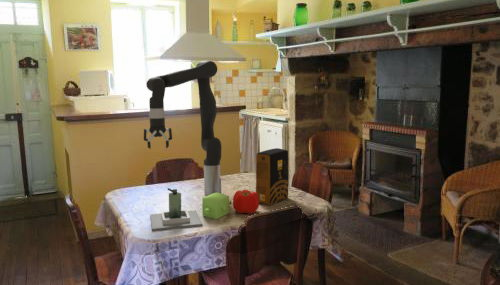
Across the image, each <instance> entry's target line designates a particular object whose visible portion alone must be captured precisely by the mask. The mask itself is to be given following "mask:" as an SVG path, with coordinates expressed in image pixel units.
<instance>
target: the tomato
mask: <svg viewBox="0 0 500 285" xmlns="http://www.w3.org/2000/svg"><path fill="white" fill-rule="evenodd" d="M232 206H233V209H234V210H235V212H238V213H239V214H248V215H249V214H250V215H251V214H254V213H256V211H257V210H258V209H259V207H260V203H259V197H258V194H257V193H256V191H251V190H248V189H242V190H237V191H235V193H234V194H233V197H232Z"/></svg>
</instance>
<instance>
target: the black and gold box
mask: <svg viewBox="0 0 500 285" xmlns="http://www.w3.org/2000/svg"><path fill="white" fill-rule="evenodd" d="M255 155H256V156H255V158H256V159H255V160H256V163H255V166H256V167H255V192H256V193H257V194H258V197H259V204H262V205H268V206H271V205H272V206H273V205H274V204H277V203H279V202H282V201H284V200H286V199H288V198H289V151H288V149H282V148H278V147H277V148H270V149H266V150H263V151H260V152H258V153H256V154H255Z"/></svg>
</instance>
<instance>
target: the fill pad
mask: <svg viewBox="0 0 500 285" xmlns="http://www.w3.org/2000/svg"><path fill="white" fill-rule="evenodd" d="M149 216H150V224H151V230H152V232H156V231H158V232H159V231H165V230H177V229H185V228H186V229H187V228H194V227H203V222H202V220H201V218H200V215H199V214H198V211H197V210H193V209H192V210H187V209H181V218H175V219H169V210H167V211H161V213H152V214H150V215H149Z"/></svg>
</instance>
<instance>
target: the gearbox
mask: <svg viewBox="0 0 500 285" xmlns="http://www.w3.org/2000/svg"><path fill="white" fill-rule="evenodd" d="M201 200H202V201H201V202H202V203H201V204H202V211H201V212H202V213H201V214H202V216H203V217H206V218H209V219H214V220H217V219H219V218H222V217H223V216H225V215H227V214H229V213H230V206H231V205H232V203H233V200H230V196H229V195H228V194H226V193H225V194H224V193H222V192H221V193H213V194H210V195H205V196H204V197H202V198H201Z"/></svg>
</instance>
